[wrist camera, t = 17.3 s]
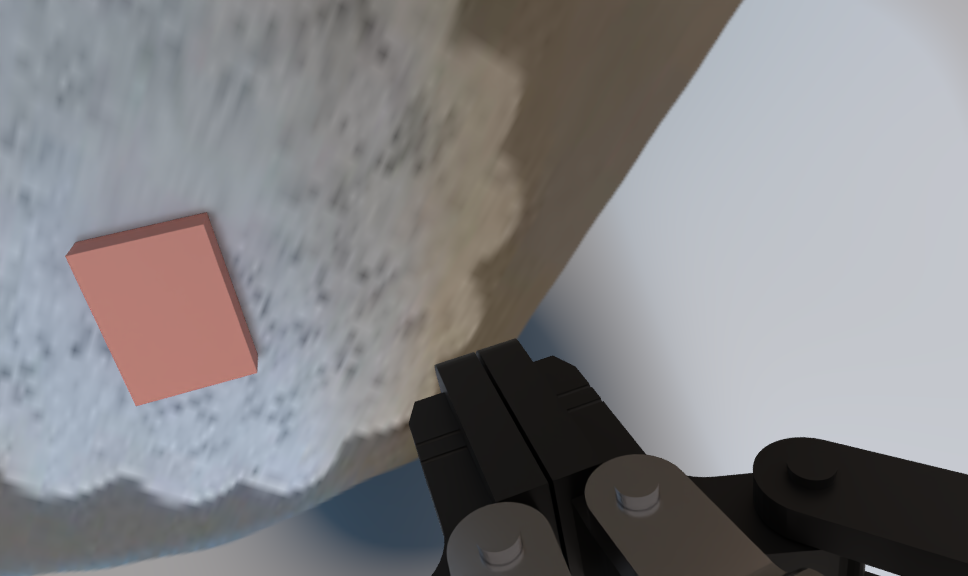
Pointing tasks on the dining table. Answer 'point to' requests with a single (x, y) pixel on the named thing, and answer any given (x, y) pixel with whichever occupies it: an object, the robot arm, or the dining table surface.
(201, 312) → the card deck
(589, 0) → the dining table surface
